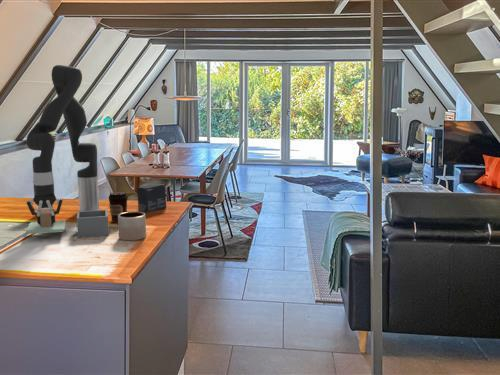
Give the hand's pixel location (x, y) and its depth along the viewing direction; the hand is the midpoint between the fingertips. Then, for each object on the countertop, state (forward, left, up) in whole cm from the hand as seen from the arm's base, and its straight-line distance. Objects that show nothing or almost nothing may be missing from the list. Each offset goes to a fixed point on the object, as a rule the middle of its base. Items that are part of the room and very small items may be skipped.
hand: (46, 224), depth 205 cm
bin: (0, +18, -5) cm, 19 cm away
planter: (+11, +33, -5) cm, 35 cm away
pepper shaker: (-36, -4, -5) cm, 37 cm away
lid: (0, 0, -2) cm, 2 cm away
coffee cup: (-16, +29, -5) cm, 34 cm away
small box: (-36, +46, -5) cm, 59 cm away
